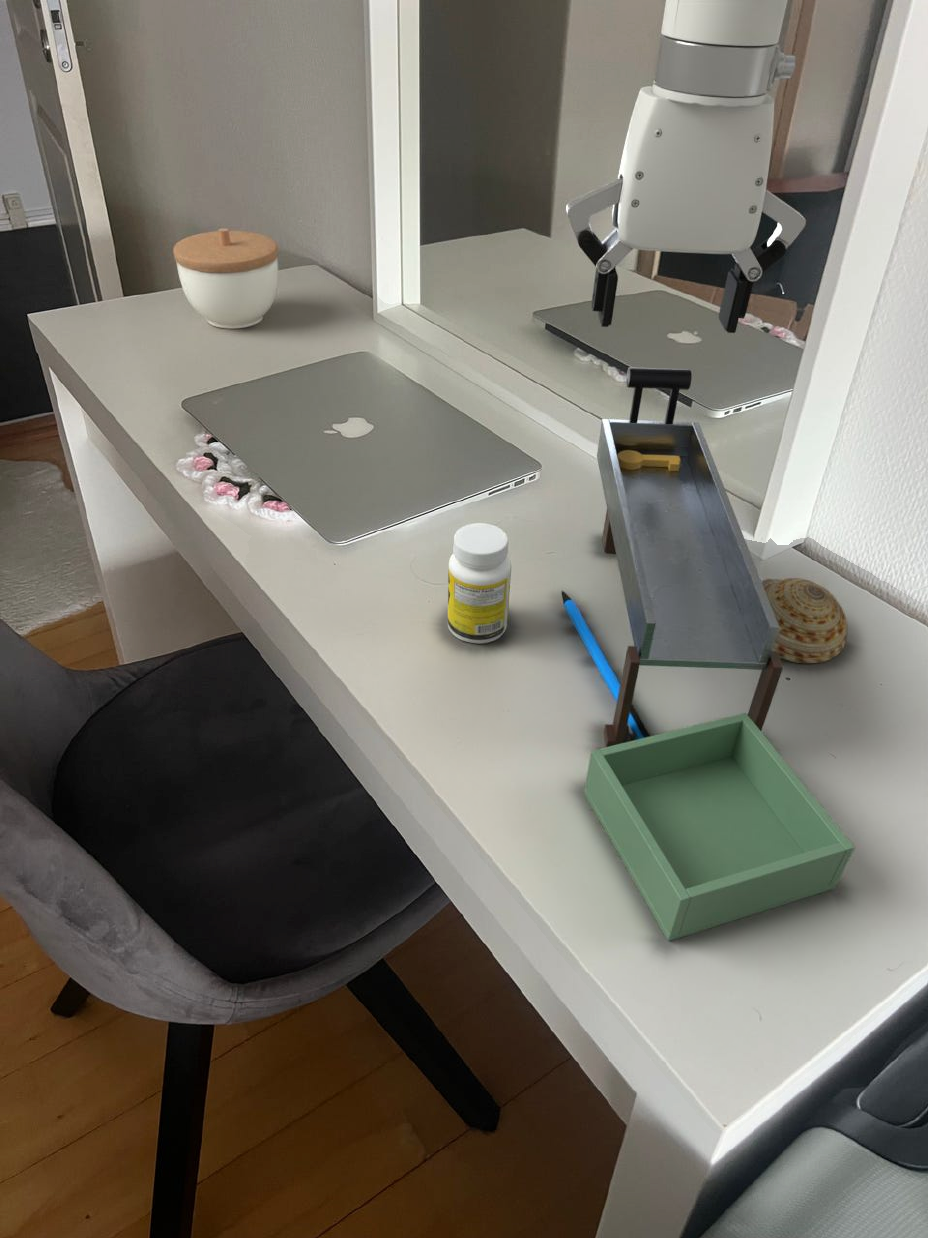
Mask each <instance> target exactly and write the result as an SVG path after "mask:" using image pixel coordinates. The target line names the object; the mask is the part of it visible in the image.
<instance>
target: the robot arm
mask: <svg viewBox="0 0 928 1238" xmlns="http://www.w3.org/2000/svg"><path fill="white" fill-rule="evenodd" d="M787 5H788V0H665V5H664V11H663V18H662V24H661V34H660V38H659V44H658V51H657V58H656V64H655V69H654V71H655V72H654V77H653V84H652V85H650V86H649V85H647V86H643V87H641V88H640V90H639V92H638V95H637V98H636V101H635V104H634V107H633V110H632V114H631V118H630V121H629V125H628V128H627V129H628V130H627V134H626V138H625V142H624V146H623V151H622V156H621V161H620V165H619V171H618V176H617V179H615V180H612V181H610V182H608V183H606V184H603V185H601V186H600V187H598V188H595V189H593V190H591V191H589V192H587V193H585V194H583V195H581V196H579V197H578V196H577V197H576V198H575V199H572V200H570V201H569V202H567V204H566V207H565V208H566V209H565V210H566V213H567V217H568V220H569V223H570V225H571V228H572V230H573V233H574V236H575V239H576V242H577V243H578V247H579V248H580V249H581V251H582V252H583V253H584V254H585V255H586V257H587V258H588V259H589V261H591V264H593V266H594V267H595V273H594V274H595V275H594V283H593V289H592V297H591V310H592V312H597V316H598V320H599V323H600V327H602V328H605V327H606V328H608V327H609V326H612V322H613V315H614V309H615V302H616V294H617V288H618V282H619V275H618V273H617V269H616V268H617V266H618V264H620V262H622V261H623V260H624V258H626V257H627V256H628V255H629V254H630V253H631V252H632V251H633V250H639V251H651V252H670V253H686V254H687V253H688V254H707V255H709V254H710V255H732V257H733V259H734V261H735V262H736V263H735V264H734V267H731V269H730V270H728V273H727V277H726V281H725V285H724V290H723V294H722V299H721V303H720V308H719V312H718V320H719V322H720V323H721V325H722V328H723V330H724V332H725V331H726V332H727V333H728V334H735V333H736V332H737V328H738V324H739V320H740V319H745V318H746V315H747V311H748V307H749V303H750V299H751V295H752V290H753V286H754V282H757V281H758V280H760V279H761V277H762V275H763V272H765V271H766V270H768V269H769V268H770V267H771V266H773V265H774V264H775V263H777V262H778V261H780V259H782V258H784V256H785V255H786V253H787V249H788V248H789V246H791V245H792V244H793V242H794V241H795V240H796V239H797V237H798V236H799V235H800V234H801V232H802V231H803V230H804V228H805V227H806V224H807V220H806V218H805V217H804V216H803V214H801V212H799V211H798V210H796V209H795V208H793V207H792V206H791V205H789V204H787V203H786V202H785V201H783V200H782V199H781V198H779V197H778V196H777V195H775V194H773V193H772V192H771V191H769V190H768V189H767V184H768V177H769V171H770V170H769V169H770V163H771V155H772V146H773V136H774V135H773V134H774V119H775V100H774V98H773V96H770V95H769V94H768V92H771V90H772V86H773V85H774V83H775V81H779V80H780V79H791V78H792V77H793V75H794V72H795V69H796V62H797V61H796V60H797V58H796V55H794V54H786V53H785V52H783V51H781V45H779V40H780V35H781V31H782V27H783V22H784V18H785V14H786V10H787ZM610 207H612V213H611V222H612V226H613V227H614V229H613V230H612V231H611V232H610V233H609V234H608V235H607V236H606V237H605V239H603V240H602V241H601V240H600V239H599V237H598V236H597V235H596V233H595V232H594V231H593V230H592V227H591V224H590V219H591V217H592V216H594V215H596V214H598V213H599V212H602V211H604V210H607V209H608V208H610ZM762 213H763V214H765V215H766V216H768V217H769V218H770V219H772V220H774V222H776V223H777V226H776V228H775V229H774V231H773V234H772V235H771V236H769V237H767V238H766V239H765V240H763V241H762V242H761V243H760V244H758V245H757V246H756V247H755V248H753V249H751V246H752V245H753V243H754V242H755V239H756V236H757V233H758V230H759V226H760V223H761V217H762Z"/></svg>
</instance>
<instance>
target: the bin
mask: <svg viewBox="0 0 928 1238" xmlns="http://www.w3.org/2000/svg"><path fill="white" fill-rule="evenodd" d="M747 714H748V713H747V712H744V713H739V714H735V715H731V716H728V717H723V718H720V719H715V720H712V721H706V722H704V723H703V722H702V723H699V724H694V725H691V726H686V727H683V728H680V729H679V728H677V729H675V730H670V731H667V732H663V733H659V734H655V735H650V737H646V738H642V739H638V740H637V739H634V740H631V741H630V742H626V743H622V744H618V745H614V746H610V747H606V746H605V747H601V748H600V749H599V748H598V749H593V750H591V751H590V756H589V762H588V767H587V773H586V779H585V783H584V788H583V794H584V795H585V797H586V799H587V801H588V802H589V804H590V806H591V808H592V809H593V811H594V813H595V815H596V817H597V818H598V820H599V822H600V823H601V825H602V827H603V829H604V830H605V832H606V834H607V836H608V838H609V839H610V841H611V843H612V845H613V846H614V848H615V850H616V852H617V854H618V855H619V857H620V859H621V861H622V863H623V864H624V866H625V868H626V870H627V871H628V873H629V876H630V877H631V879H632V881H633V882H634V884H635V885H636V887H637V890H638V891H639V892H640V895H641V896H642V898H643V900H644V901H645V903H646V905H647V907H648V908H649V910H650V911H651V914H652V915H653V917H654V919H655V921H656V923H657V924H658V926H659V928H660V930H661V932H662V933H663V934H664V936H665V938H666V940H667V941H668V942H671V941H673V940H677V939H680V938H683V937H686V936H689V935H692V934H693V935H694V934H695V933H699V932H702V931H705V930H708V929H712V928H715V927H718V926H721V925H724V924H727V923H731V922H734V921H736V920H739V919H742V918H746V917H749V916H753V915H755V914H758V913H762V912H764V911H768V910H771V909H774V908H777V907H781V906H784V905H786V904H790V903H793V902H796V901H799V900H803V899H806V898H808V897H812V896H815V895H818V894H821V893H824V892H828V891H831V890H834V889H835V888H836V886H837V884H838V882H839V880H840V878H841V876H842V874H843V872H844V870H845V868H846V866H847V865H848V862H849V860H850V859H851V856H852V854H853V852H854V850H855V846H854V844H853V843H852V842H851V841H850V839H848V838H847V837H848V836H846V835H845V833H844V832H843V831H842V830H841V829H840V827H839V826H838V824H836V822H835V821H834V820H833V818H831V816H830V815H829V813H828V812H827V811H826V810H825V808H824V807H823V806H822V805H821V803H820V802H819V801H818V800H817V799H816V798H815V796H814V795H813V794H812V793H811V791H810V790H809V789H808V788H807V786H806V785H805V784H804V782H803V781H802V780H801V779H800V778H799V777H798V775H797V774H796V773H795V772H794V770H793V769H792V768H791V766H790V765H789V764H788V763H787V762H786V761H785V759H784V758H783V757H782V755H781V754H780V753H779V752H778V751H777V749H776V748H775V747H774V745H773V744H772V743H771V742H770V741H769V740H768V738H767V737H766V735H764V733H763V732H762V731H760V730H759V728H758V727H757V726H756V725H755V724H754V722H753V721H752V720H751V719H750V717H749V716H748V715H747Z"/></svg>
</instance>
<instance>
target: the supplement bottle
mask: <svg viewBox="0 0 928 1238" xmlns="http://www.w3.org/2000/svg"><path fill="white" fill-rule="evenodd" d="M452 552H453V553H452V554H451V556H450V558H449V559H448V575H447V577H448V578H447V627H448V630H449V631H450V633H451V634H452V635H453V636H454V637H455V638H457V639H458V640H461V641H463V642H466V643H471V644H480V645H481V644H488V643H492V642H494V641H497V640H498V639H499V638H501V637H502V636H503V635H504V634H505V632H506V630H507V628H508V620H509V605H510V591H511V590H510V589H511V579H512V578H511V577H512V561H511V559H510V556H509V555H508V554H509V537H508V535H507V533H506V532H505V530H504V529H502V528H500V527H499V526H497V525H493V524H491V523H490V524H489V523H484V522H483V523H482V522H475V523H469V524H466V525H463V526H462V527H460V528H458V529H457V530H456V532H455V533H454V537H453V546H452Z"/></svg>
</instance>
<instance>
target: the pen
mask: <svg viewBox="0 0 928 1238" xmlns="http://www.w3.org/2000/svg"><path fill="white" fill-rule="evenodd" d="M560 594H561V598H562V603H563V607H564V609H565V612H566V613H567V615H568V616H569V618H570V620H571V622H572V624H573V626H574V627H575V630H576V631H577V633H578V635H579V636H580V638H581V641H582V642H583V644H584V646H585V648H586V649H587V652H588V653H589V655H590V656H591V658H592V660H593V663H594V664H595V666H596V668H597V670H598V671H599V673H600V675H601V677H602V679H603V681H604V683H605V684H606V686H607V688H608V690H609V692H610V693H611V695H612V697H613V699H614V701H615V703H616V704H617V699H618V694H619V689H620V684H621V681H620V680H619V678H618V677H617V675H616V673H615V671H614V670H613V668H612V667H611V665H610V663H609V661H608V659H607V658H606V656H605V654H604V652H603V650H602V648H601V647H600V646H599V643H598V641H597V639H596V637H595V636H594V634H593V632H592V631H591V629H590V627H589V625H588V624H587V622H586V620H585V617H584V616H583V615H582V613H581V612H580V609H579V607H578V606H577V604H576V603H575V601H574V600H573V599H572V598H571V597H570V596H569V595H568V594H567V593H566V592H565V591H563V590H561V592H560ZM627 725H628V727H629V729H630V730H631V732H632V734H633V735H634V738H635V740H638V739H642V738H646V737H650V736H651V735H650V732H649V731H648V729H647V727H646V726H645V724H644V722H643V720H642V719H641V717H640V715H639V712H638V711H637V709H636V707H635V706H634V704H633V703H632V704H631V709H630V714H629V719H628V723H627Z"/></svg>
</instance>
